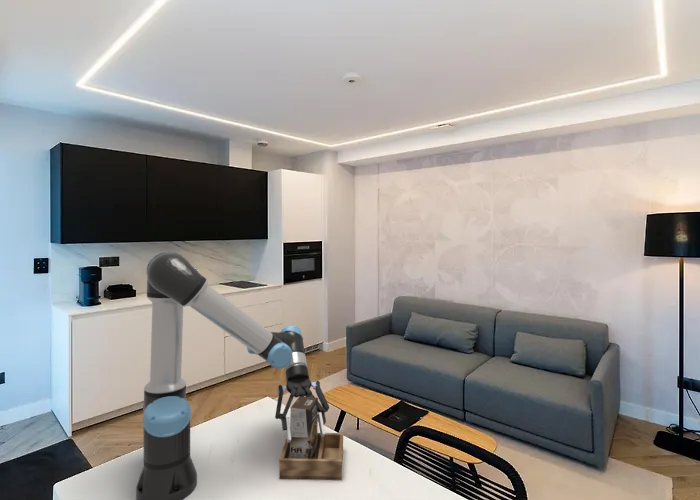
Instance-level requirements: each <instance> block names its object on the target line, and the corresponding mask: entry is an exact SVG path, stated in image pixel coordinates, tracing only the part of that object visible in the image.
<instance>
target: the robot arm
mask: <svg viewBox="0 0 700 500" xmlns="http://www.w3.org/2000/svg"><path fill="white" fill-rule="evenodd" d="M146 277H147V280H146V298H147V299H148V300H149V301H150V302H151V303H152V305H151V333H150V334H151V335H150V339H151V340H150V371H149V372H150V374H149V375H150V376H149V377H150V378H149V381H148V383H147V384H146V385H145V386H144V387H143V389H144V390H143V404H142V413H143V417H142V426H143V466H142V469H141V472H140V475H139V478H138V481H137V484H136V487H135V493H136V494H135V497H136V498H135V499H136V500H184V499H185V498H186V497H188V496H189V495H190V494H191V493H192V492H194V490H195V488H196V487H197V483H198V473H197V469H196V468H195V464H194V462H193V459H192V457H191V417H192V410H191V404H190V402H189V401H188V400H187V381H186V380H184V378H182V365H183V364H182V363H183V361H182V359H183V358H182V355H183V327H184V326H183V325H184V323H183V322H184V307H190V308H192V309H193V310H195V311H196V312H197V313H199V314H200V315H201V316H203V317H205V318H206V319H207V320H209V322H211V323H213V324H214V325H215V326H217V327H218V328H220V329H221V330H223V331H224V332H226V333H227V334H228V335H229V336H231V337H232V338H234V339H235V340H236V341H238V342H239V343H241V344H242V345H243V346H245V347H246V348H247V349H246V350H247V352H248V353H249V354H252V355H258V356H259V357H260V358H262V359H263V361H264V360H265V362H267V363H268V364H269V365H270V366H271V367H273V368H274V369H278V370H281V369H284V370H285V379H286V380H285V381H286V384H285V385H282V384H279V385H278V388H277V395H278V396H277V403H276V409H275V416H274V418H275V419H276V420H280V421H281V430H282V431H283V432H284V431H285V432H286V439H287V442H288V443H289V442H290V441H291V432H290V418H289V416H287V415H288V412H289V409H290V408H291V406H292V405H291V404H292V402H293V400H294V398H295V399H296V398H299V397H300V396H301V397H315V395H314V394H313V393H312V391H311V387H312V389H314V390H315V394H316V396H317V398H318V426H319V428H318V429H319V433H320V434H321V437H323V436H324V435H325V433H326V431H325V424H327V420H326V413H327V412H328V411H329V410H330V405H329V403H328V401H327V399H326V397H325V394H324V391H322V389H321V383H320V380H316V381H314V382H313V381H311V380H310V379H311V378H310V375H309V374H310V373H309V368H308V363H307V358H306V357H307V356H306V351H305V346H304V337H303V335H302V329H301V328H300V327H299V326H297V325H289V326H288V325H287V326H285V327H283V328H281V330H280V332H277V331H276V332H275V331H270V330H268V329H267V328H266V327H264V326H263V325H262V324H261V323H259V322H257V321H256V320H255V319H254V318H252V317H251V316H249V315H248V314H247V313H246V312H245V311H243V310H242V309H240V308H239V307H238V306H237V305H235V304H234V303H233V302H231V301H230V300H229V299H227V298H226V297H225V296H224V295H222V294H221V293H219V292H218V291H217V290H215V288H213V287H211V286H210V285H209V284H208V279H207V277H204V276H203V274H201V273H200V272H199V271H198V270H196V268H195V267H194V266H193V265H192V264H191V263H190V262H189V260H188V259H187V258H186V257H184V256H183V255H182V254H179V252H178V253H177V252H174V251H173V252H172V251H163V252H160V253H158V254H155V255H154V256H153V257H151V259H150V260H149V261H148V264H147V266H146ZM286 391H287V392H288V393H289V398H288V400H287V402H286V403H285V406H284V409H283V412H282V413H281V409H282V404H283V398H284V397H283V396H284V393H285V392H286Z"/></svg>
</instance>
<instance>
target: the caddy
mask: <svg viewBox="0 0 700 500" xmlns="http://www.w3.org/2000/svg"><path fill="white" fill-rule="evenodd" d="M317 433H318V435H317V448H316V450H315V452H314V454H313V456H312V458H311V459H293V458H290V442H289V443H288V442H287V438H286V440H285V443H284V445H283V449H282V451H281V454H280V458H279V466H278V467H279V470H278V471H279V473H278V474H279V475H278V476H279V477H278V479H279V480H310V481H311V480H316V481H317V480H318V481H319V480H320V481H342V479H343V476H342V475H343V461H344V459H343V458H344V432H325V435H324V436H323V437H321V434H320V432H317Z"/></svg>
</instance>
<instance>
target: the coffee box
mask: <svg viewBox="0 0 700 500" xmlns="http://www.w3.org/2000/svg"><path fill="white" fill-rule="evenodd" d="M318 402H319V398H318V397H315V396H314V397H305V396H304V397H301V396H300V397H297V399H296V400H295V401H294V403H293V404H292V405H291V406H290V413H289V414H290V415H289V416H290V418H289V424H290V432H291V441H290V458H293V459H311V458H312V456H313V454H314V452H315V450H316V448H317V435H318V433H319V431H318V430H319V428H318V426H319V422H318Z"/></svg>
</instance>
